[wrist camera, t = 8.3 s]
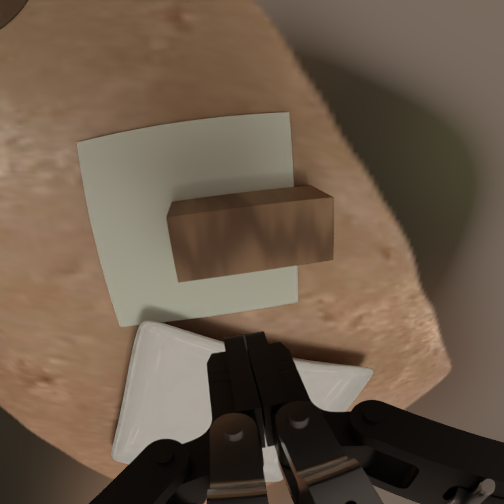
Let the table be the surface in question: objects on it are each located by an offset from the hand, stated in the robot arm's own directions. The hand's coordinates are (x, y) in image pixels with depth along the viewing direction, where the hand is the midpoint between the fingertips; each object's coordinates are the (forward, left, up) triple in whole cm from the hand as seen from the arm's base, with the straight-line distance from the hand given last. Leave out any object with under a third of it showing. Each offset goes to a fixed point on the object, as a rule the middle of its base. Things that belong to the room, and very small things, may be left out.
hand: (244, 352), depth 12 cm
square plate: (+25, -2, -18) cm, 31 cm away
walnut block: (0, -3, -15) cm, 15 cm away
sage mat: (0, -2, -18) cm, 18 cm away
